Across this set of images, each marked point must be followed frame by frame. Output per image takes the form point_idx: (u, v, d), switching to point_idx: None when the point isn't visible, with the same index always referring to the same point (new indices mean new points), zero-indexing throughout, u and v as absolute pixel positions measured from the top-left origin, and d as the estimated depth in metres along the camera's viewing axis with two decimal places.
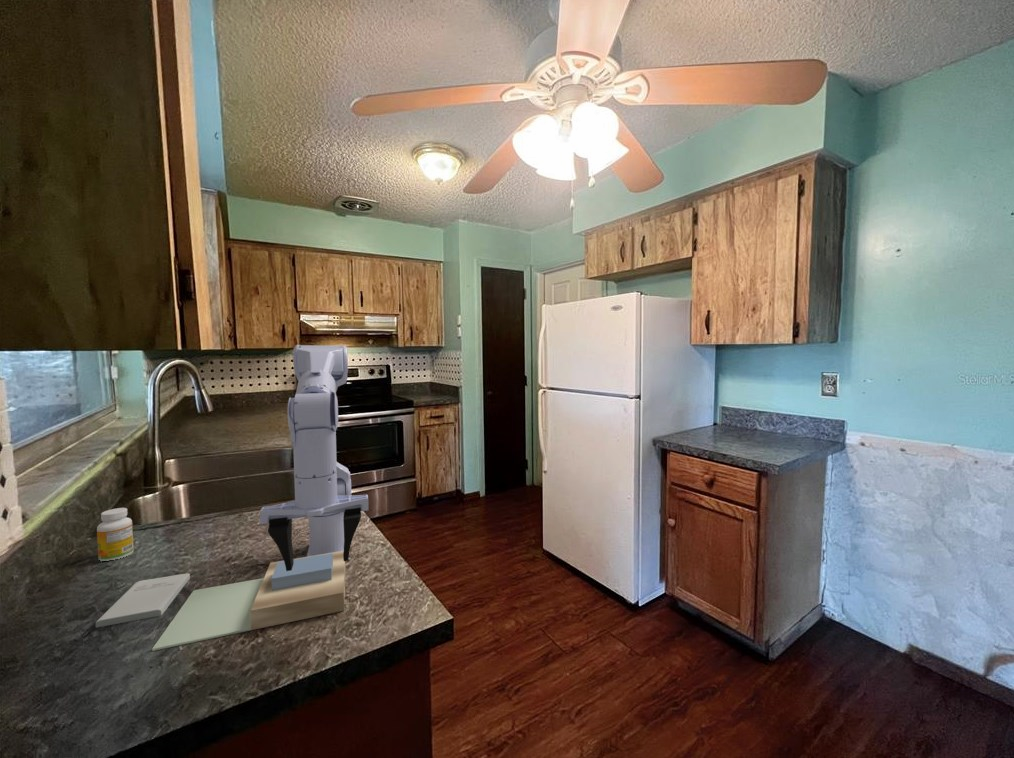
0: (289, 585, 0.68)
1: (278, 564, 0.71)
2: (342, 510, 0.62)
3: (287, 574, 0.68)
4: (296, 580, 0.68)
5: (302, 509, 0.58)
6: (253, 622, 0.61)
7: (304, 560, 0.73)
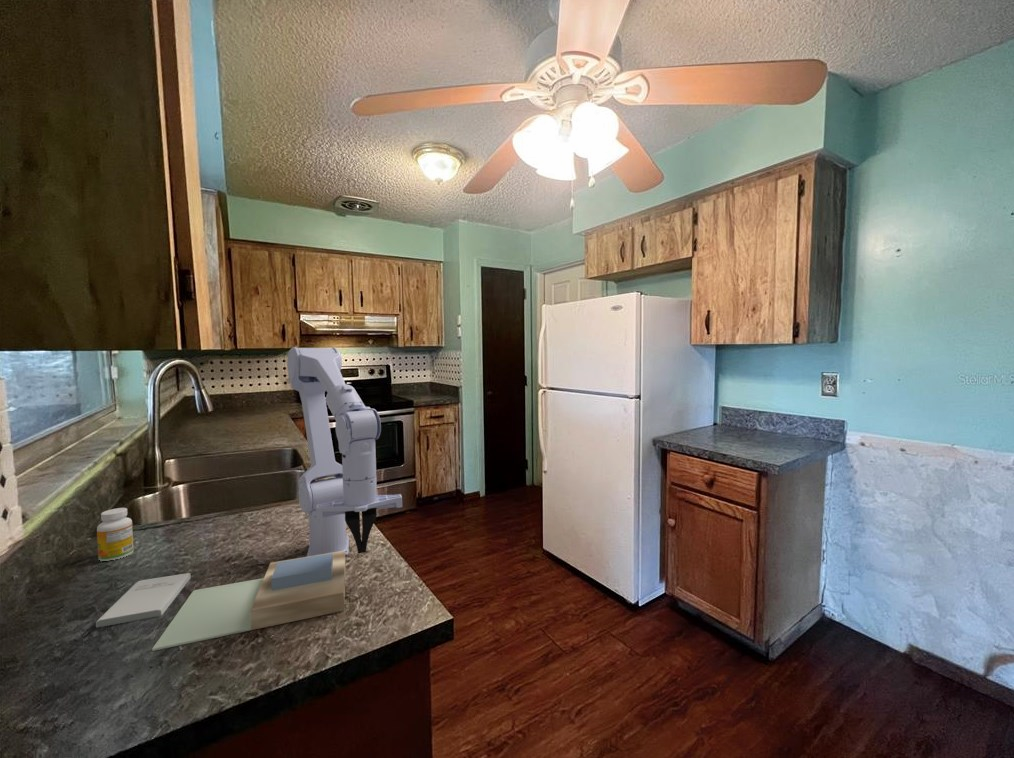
0: (289, 585, 0.68)
1: (278, 564, 0.71)
2: (381, 507, 0.75)
3: (287, 574, 0.68)
4: (296, 580, 0.68)
5: (350, 506, 0.71)
6: (253, 622, 0.61)
7: (304, 560, 0.73)
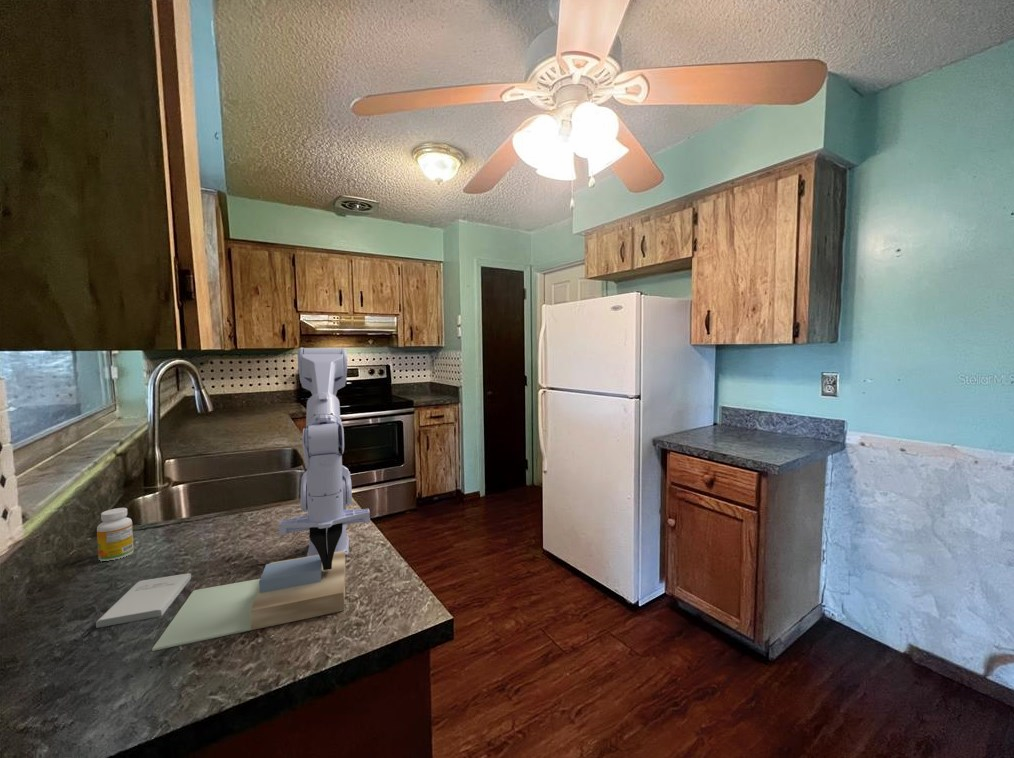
0: (277, 587, 0.67)
1: (267, 566, 0.71)
2: (347, 522, 0.73)
3: (276, 576, 0.67)
4: (285, 582, 0.67)
5: (314, 522, 0.69)
6: (253, 622, 0.61)
7: (293, 562, 0.72)
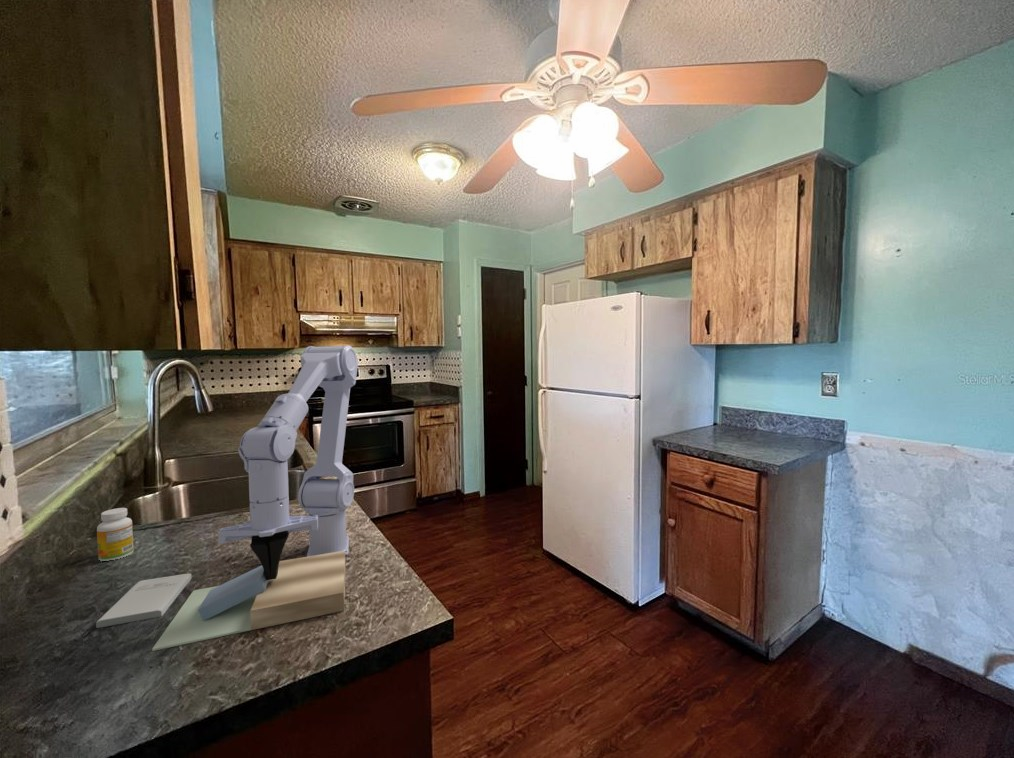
0: (220, 610, 0.64)
1: (210, 592, 0.68)
2: (293, 530, 0.70)
3: (215, 600, 0.64)
4: (226, 603, 0.64)
5: (256, 530, 0.66)
6: (253, 622, 0.61)
7: (236, 579, 0.69)
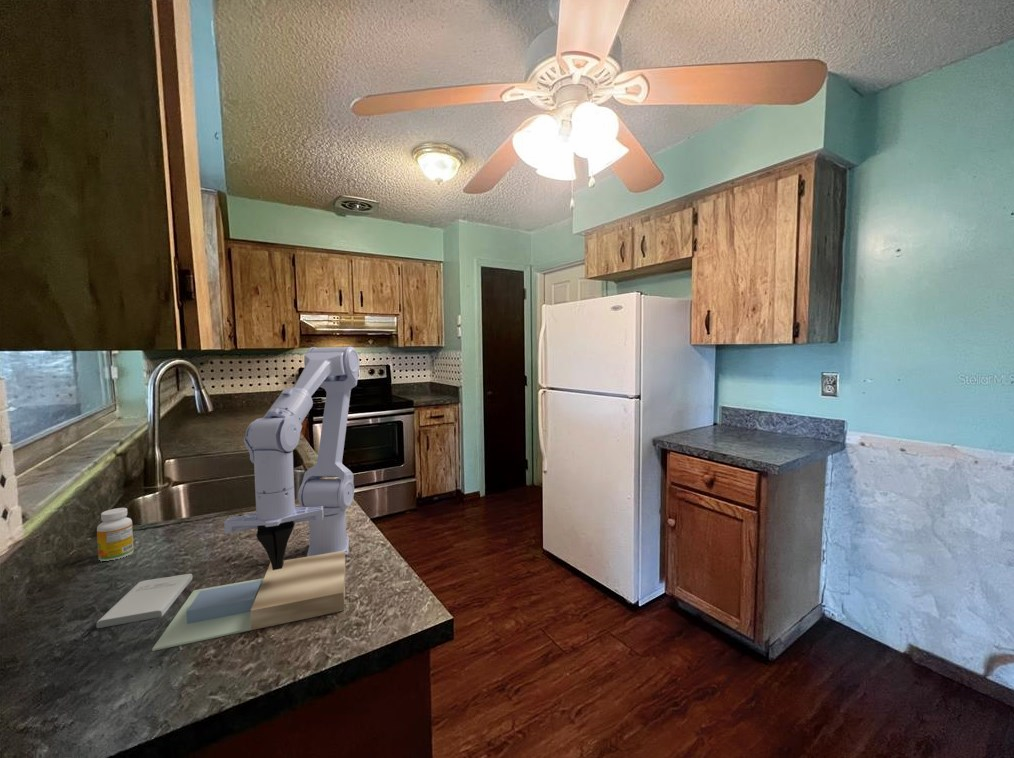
0: (207, 618, 0.63)
1: (200, 593, 0.67)
2: (299, 520, 0.70)
3: (205, 606, 0.64)
4: (214, 612, 0.64)
5: (261, 520, 0.66)
6: (253, 622, 0.61)
7: (229, 589, 0.69)
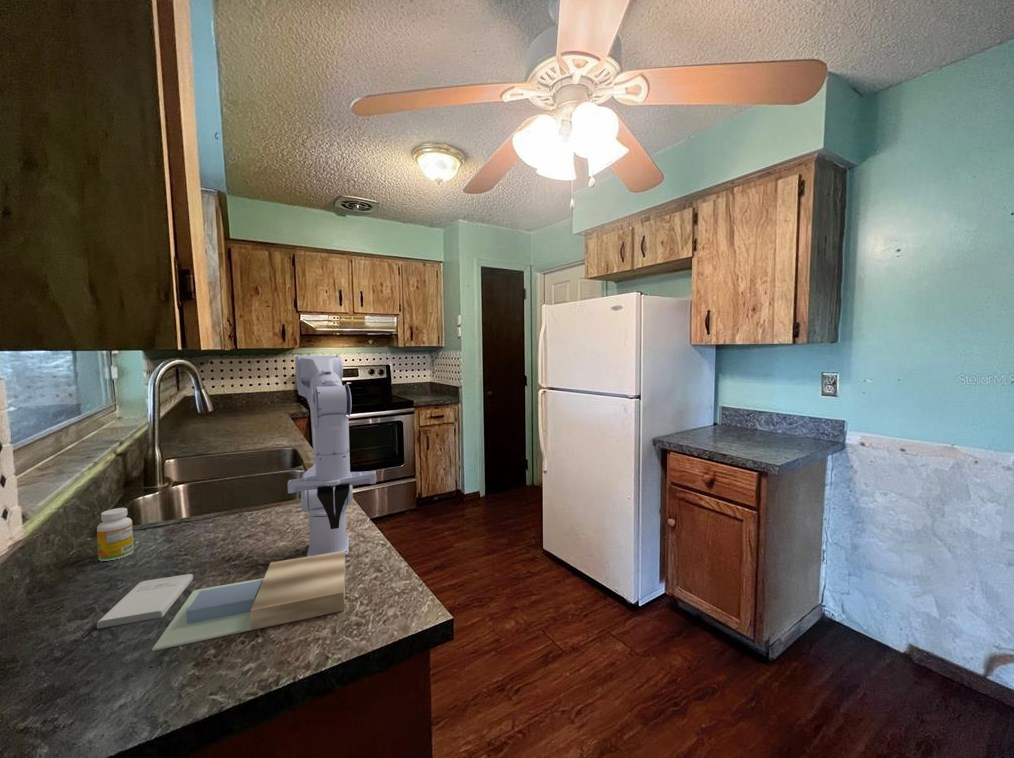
0: (207, 618, 0.63)
1: (200, 593, 0.67)
2: (354, 483, 0.75)
3: (205, 606, 0.64)
4: (214, 612, 0.64)
5: (322, 480, 0.71)
6: (253, 622, 0.61)
7: (229, 589, 0.69)
